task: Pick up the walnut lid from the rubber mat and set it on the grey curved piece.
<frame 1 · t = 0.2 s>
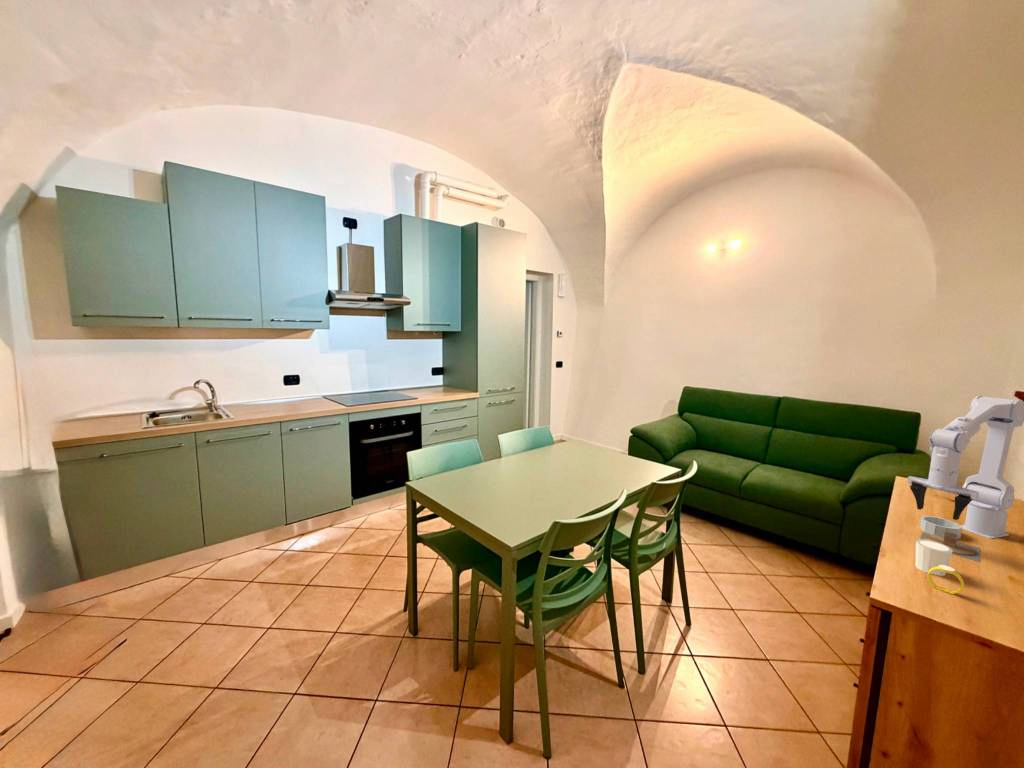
hand: (937, 513, 119), 10 cm above the table, tool pointing down, fingers open, 7 cm apart
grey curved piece: (939, 532, 128), on the table
rubber mat: (948, 546, 119), on the table
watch: (943, 591, 98), on the table
walnut lid: (949, 546, 119), resting on rubber mat
white cylinder: (930, 570, 107), on the table
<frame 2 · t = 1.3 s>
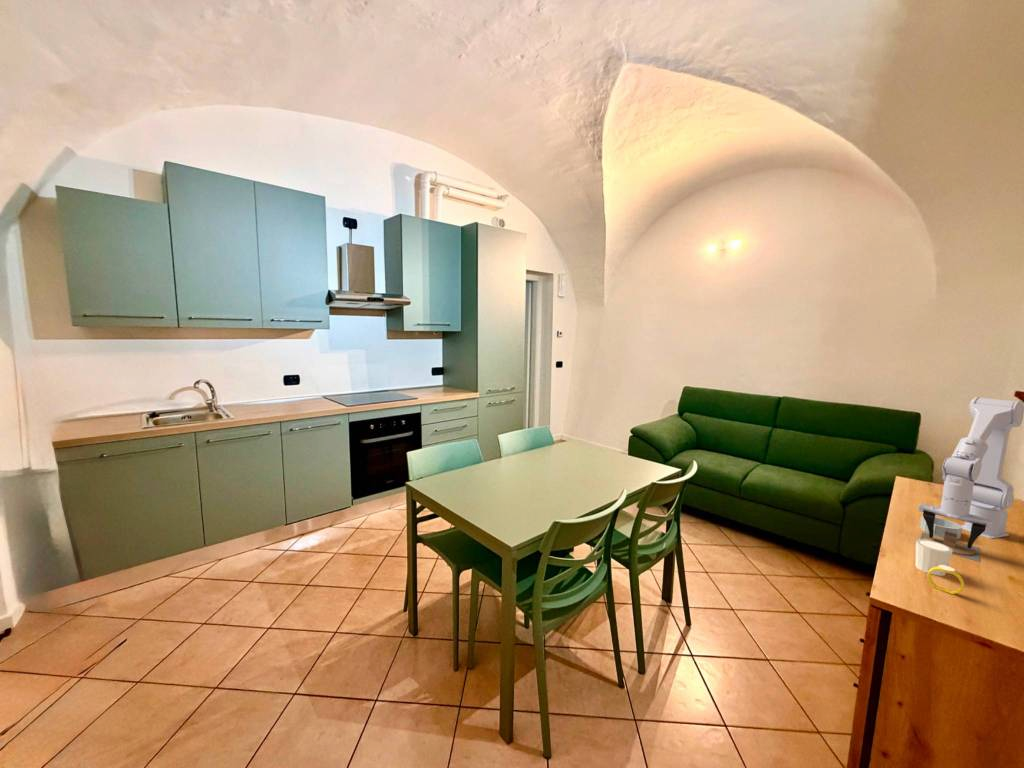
hand: (949, 541, 119), 2 cm above the table, tool pointing down, fingers open, 7 cm apart
nothing on the table moved.
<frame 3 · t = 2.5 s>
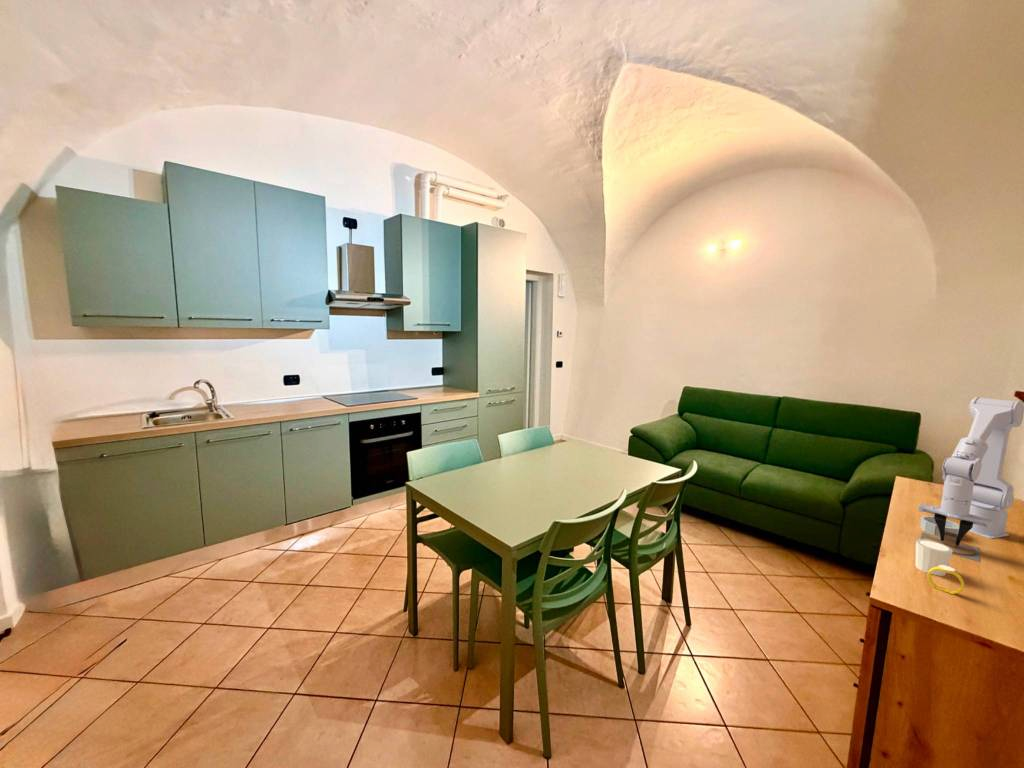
hand: (949, 541, 119), 2 cm above the table, tool pointing down, fingers closed on walnut lid, 2 cm apart
walnut lid: (949, 546, 119), resting on rubber mat, touching gripper
everything else where it was.
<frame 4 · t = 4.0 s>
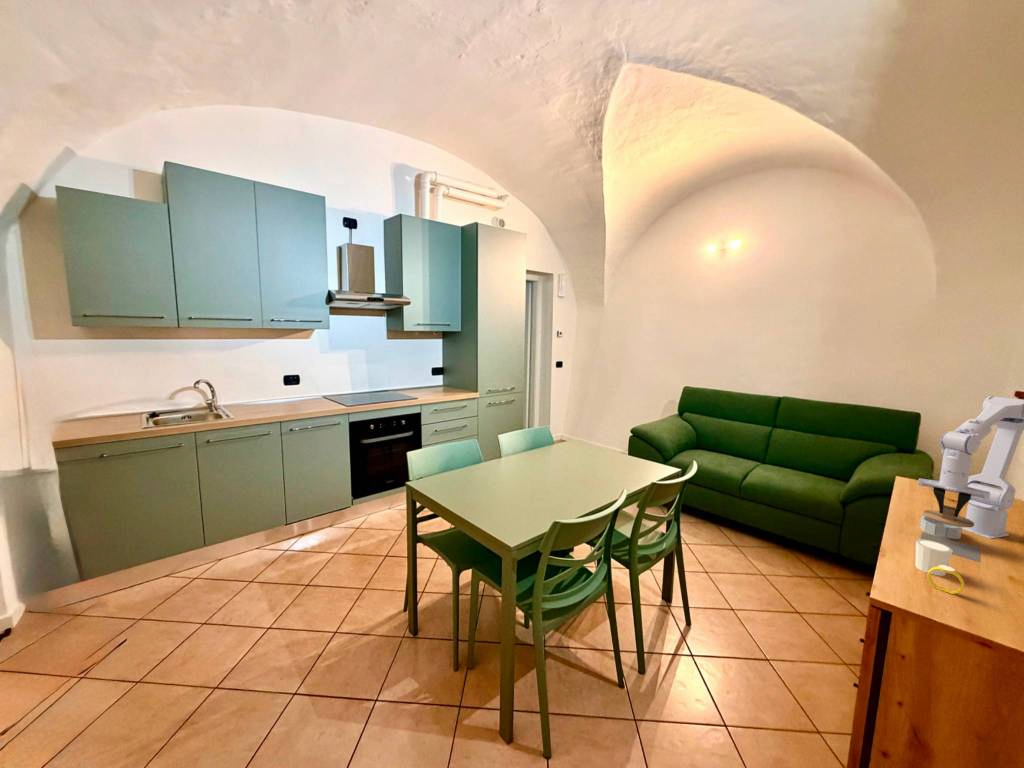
hand: (948, 514, 122), 8 cm above the table, tool pointing down, fingers closed on walnut lid, 2 cm apart
walnut lid: (947, 519, 122), point 7 cm above the table, touching gripper
everything else where it was.
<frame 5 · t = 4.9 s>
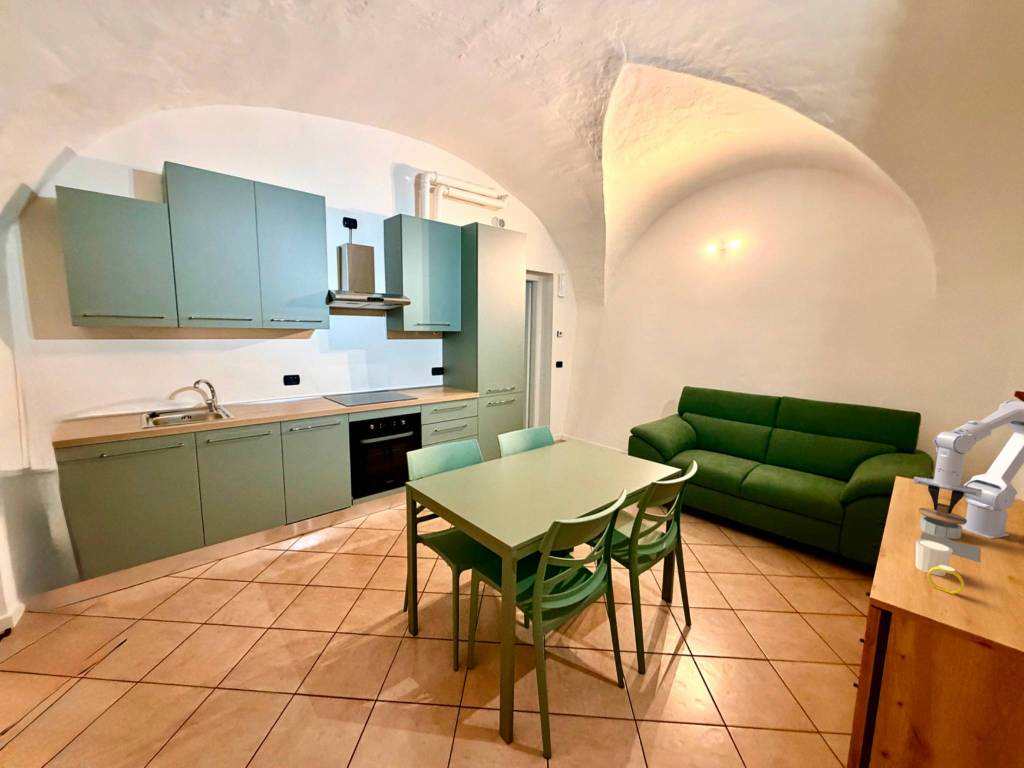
hand: (942, 511, 127), 7 cm above the table, tool pointing down, fingers closed on walnut lid, 2 cm apart
walnut lid: (941, 516, 127), point 5 cm above the table, touching gripper
everything else where it was.
when the fingers open (6 cm above the table, at t = 5.8 s): walnut lid stays where it is, resting on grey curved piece.
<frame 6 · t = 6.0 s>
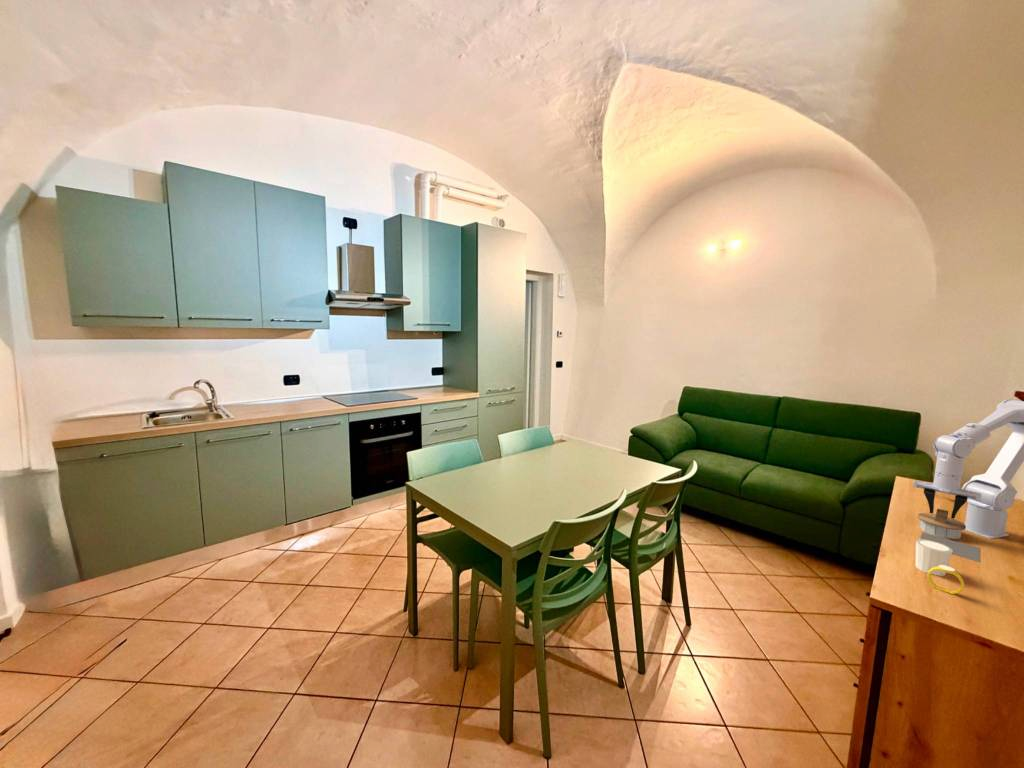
hand: (941, 515, 127), 6 cm above the table, tool pointing down, fingers open, 4 cm apart
walnut lid: (940, 522, 128), point 3 cm above the table, touching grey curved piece
everything else where it was.
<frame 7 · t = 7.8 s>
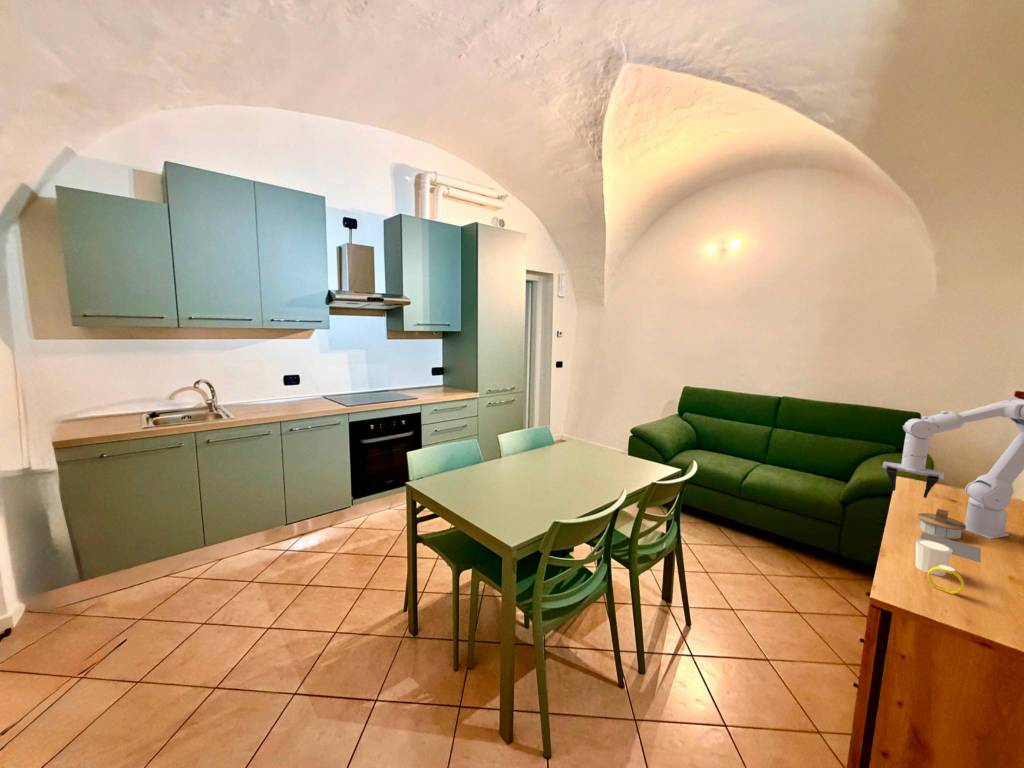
hand: (908, 493, 135), 9 cm above the table, tool pointing down, fingers open, 7 cm apart
nothing on the table moved.
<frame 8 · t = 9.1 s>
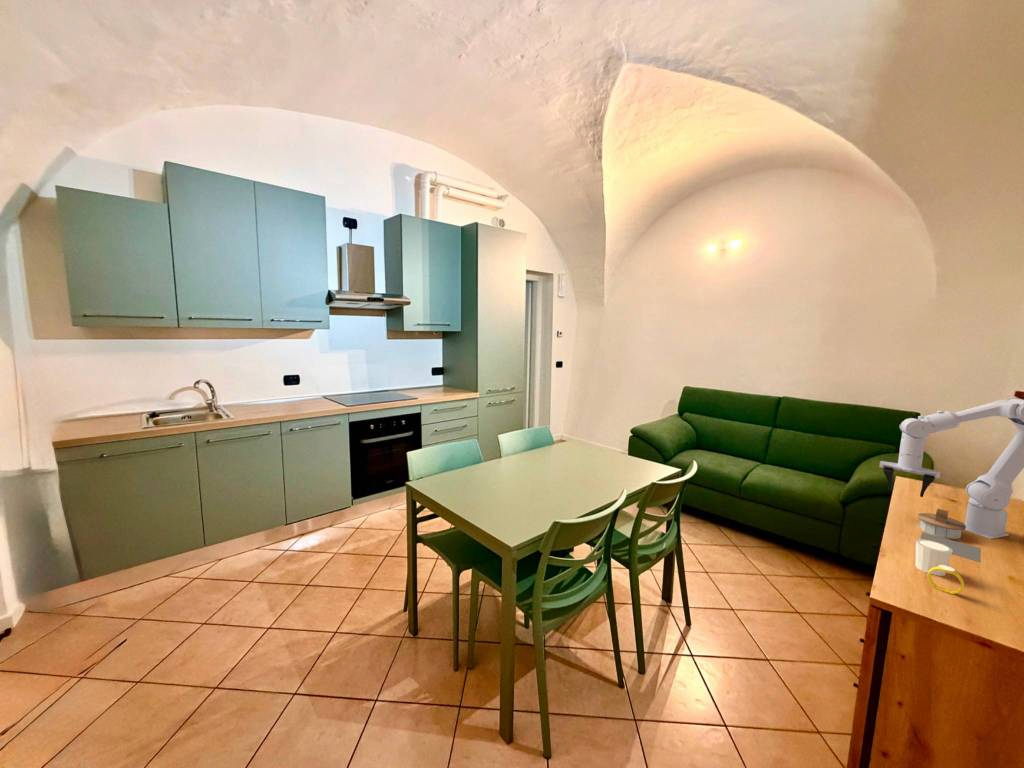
hand: (905, 492, 136), 9 cm above the table, tool pointing down, fingers open, 7 cm apart
nothing on the table moved.
at the end: walnut lid 0.0 cm off-centre on the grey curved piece, point 3.5 cm above the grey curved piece's base; walnut lid tilted 0°; walnut lid touching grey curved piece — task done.
